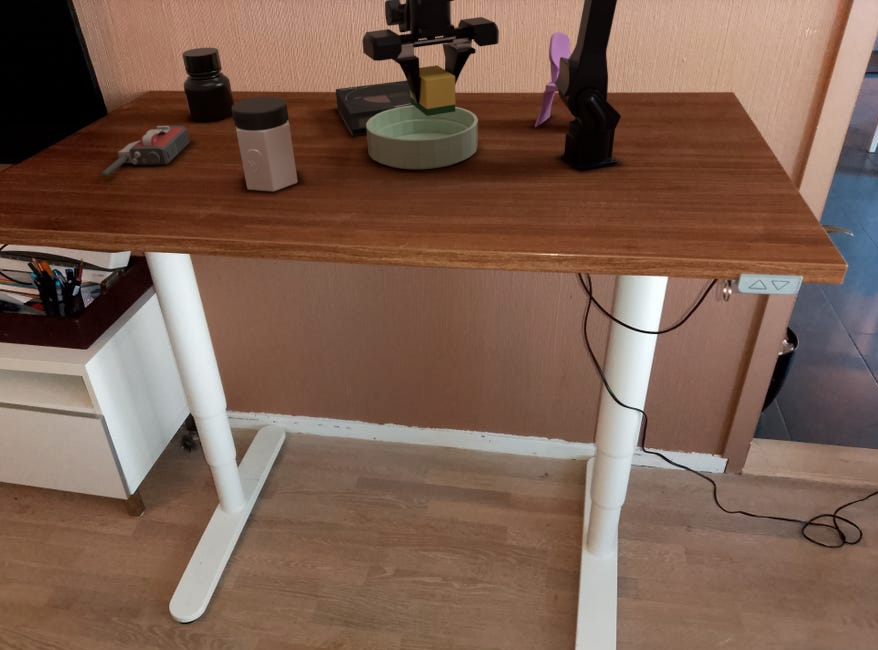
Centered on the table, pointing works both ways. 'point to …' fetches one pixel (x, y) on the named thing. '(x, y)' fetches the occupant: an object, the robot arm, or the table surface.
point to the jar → (265, 143)
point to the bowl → (421, 138)
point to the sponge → (435, 91)
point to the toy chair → (553, 72)
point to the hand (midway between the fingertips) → (432, 100)
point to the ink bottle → (206, 85)
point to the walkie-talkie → (153, 148)
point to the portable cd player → (370, 102)
